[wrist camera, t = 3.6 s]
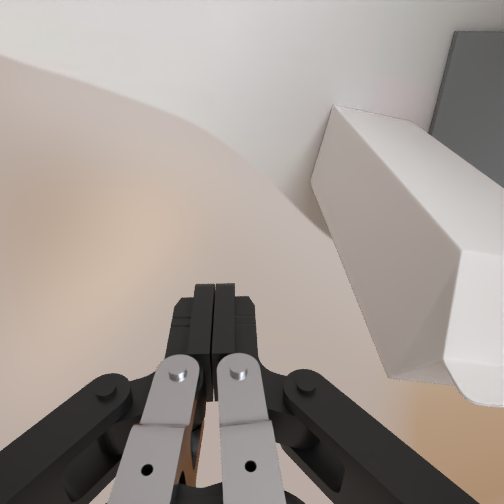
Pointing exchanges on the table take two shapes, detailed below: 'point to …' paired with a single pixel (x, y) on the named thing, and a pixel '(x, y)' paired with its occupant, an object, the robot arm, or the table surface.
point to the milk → (418, 250)
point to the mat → (474, 102)
